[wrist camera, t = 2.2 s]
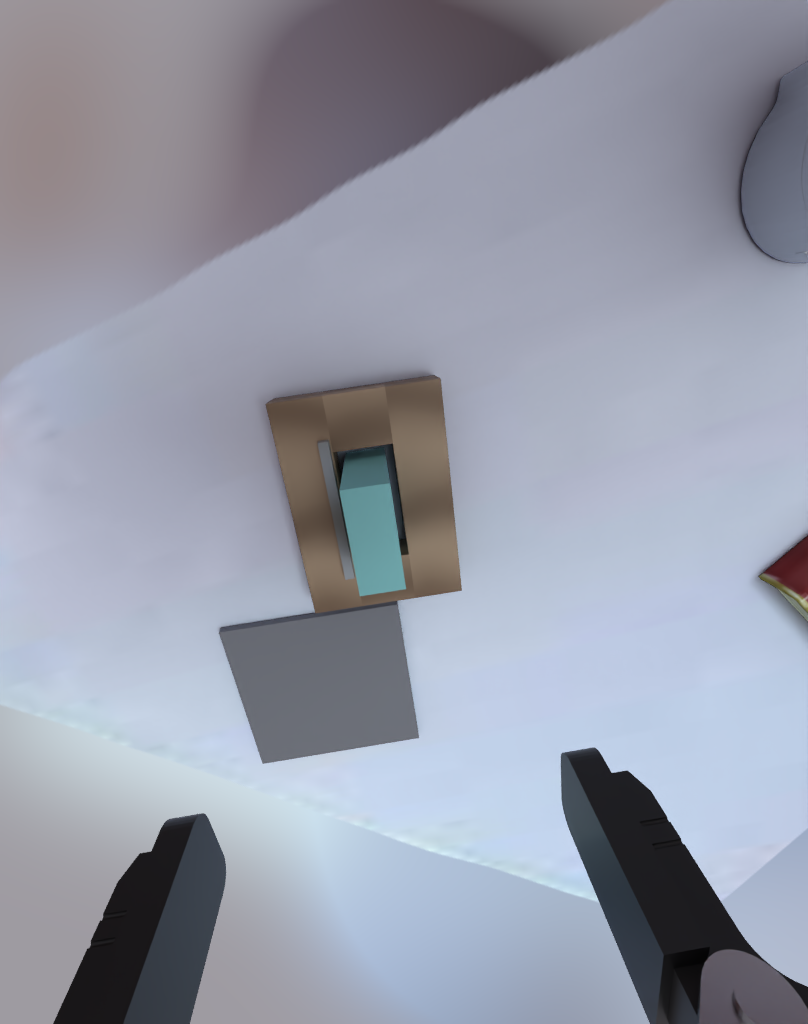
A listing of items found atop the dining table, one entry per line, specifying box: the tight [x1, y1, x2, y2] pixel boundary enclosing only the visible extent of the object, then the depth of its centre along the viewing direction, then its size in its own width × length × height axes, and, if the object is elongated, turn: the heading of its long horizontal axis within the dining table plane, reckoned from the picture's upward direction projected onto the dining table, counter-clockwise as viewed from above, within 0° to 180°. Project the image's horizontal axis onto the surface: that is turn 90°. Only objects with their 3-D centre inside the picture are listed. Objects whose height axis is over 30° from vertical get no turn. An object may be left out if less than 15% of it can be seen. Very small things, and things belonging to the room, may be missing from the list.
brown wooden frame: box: [266, 375, 462, 613], centre depth 29 cm, size 14×10×3 cm
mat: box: [219, 601, 419, 764], centre depth 36 cm, size 13×13×1 cm
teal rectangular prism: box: [339, 447, 406, 596], centre depth 27 cm, size 6×2×8 cm, turn 8°
